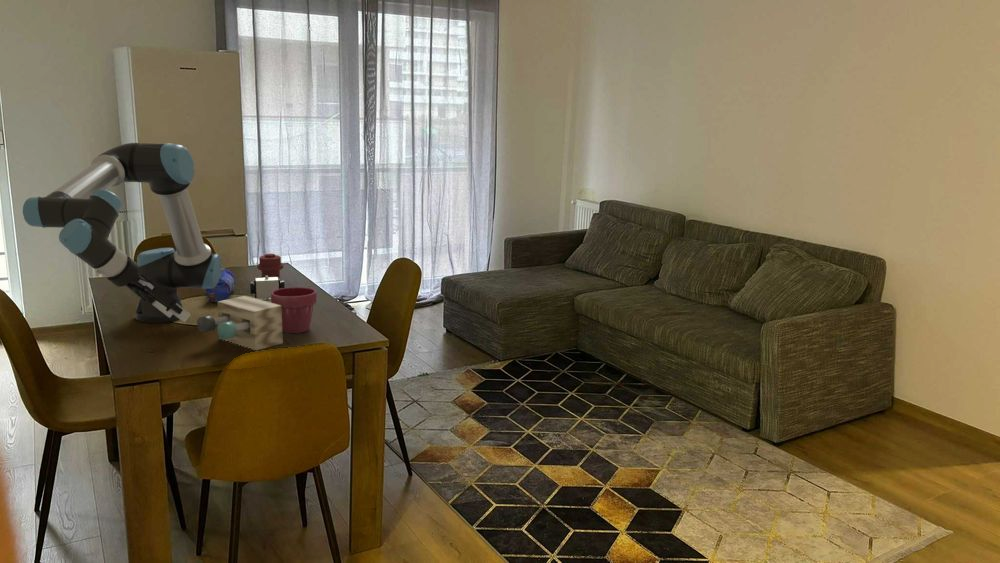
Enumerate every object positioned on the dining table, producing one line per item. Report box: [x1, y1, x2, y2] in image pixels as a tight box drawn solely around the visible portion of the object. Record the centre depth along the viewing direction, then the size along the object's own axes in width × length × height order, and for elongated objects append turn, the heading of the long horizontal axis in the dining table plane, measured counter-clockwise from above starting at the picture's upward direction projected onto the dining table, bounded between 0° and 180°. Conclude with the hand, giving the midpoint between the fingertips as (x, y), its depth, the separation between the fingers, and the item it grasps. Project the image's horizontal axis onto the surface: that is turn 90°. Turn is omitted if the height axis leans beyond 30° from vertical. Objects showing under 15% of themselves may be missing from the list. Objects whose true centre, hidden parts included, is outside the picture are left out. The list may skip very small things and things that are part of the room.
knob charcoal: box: [196, 315, 230, 334], centre depth 237 cm, size 12×5×5 cm, turn 144°
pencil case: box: [205, 267, 236, 303], centre depth 293 cm, size 22×9×10 cm, turn 14°
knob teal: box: [216, 321, 250, 341], centre depth 232 cm, size 12×5×5 cm, turn 144°
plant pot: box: [271, 286, 317, 334], centre depth 254 cm, size 14×14×13 cm
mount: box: [216, 295, 284, 351], centre depth 240 cm, size 10×18×12 cm, turn 54°
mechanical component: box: [257, 253, 284, 279], centre depth 313 cm, size 12×10×10 cm
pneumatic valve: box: [249, 276, 286, 303], centre depth 278 cm, size 6×12×12 cm, turn 110°
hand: (179, 315), depth 215 cm, fingers open, 6 cm apart
